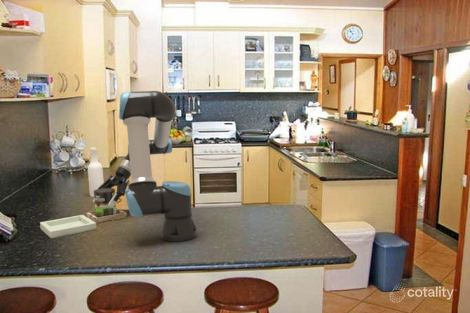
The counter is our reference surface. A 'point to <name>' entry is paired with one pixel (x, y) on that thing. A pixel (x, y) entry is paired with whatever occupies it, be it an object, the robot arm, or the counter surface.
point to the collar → (93, 217)
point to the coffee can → (104, 202)
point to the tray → (67, 226)
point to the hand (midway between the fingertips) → (102, 204)
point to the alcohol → (94, 172)
